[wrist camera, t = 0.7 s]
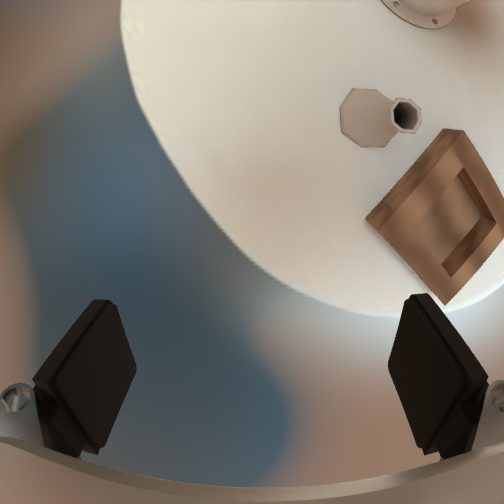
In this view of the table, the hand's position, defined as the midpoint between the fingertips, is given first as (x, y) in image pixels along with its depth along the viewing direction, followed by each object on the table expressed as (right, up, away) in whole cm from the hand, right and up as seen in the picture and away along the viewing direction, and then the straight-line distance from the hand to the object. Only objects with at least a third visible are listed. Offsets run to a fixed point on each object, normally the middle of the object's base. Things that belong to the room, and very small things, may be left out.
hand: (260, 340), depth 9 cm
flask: (+13, +18, +21) cm, 31 cm away
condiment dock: (+25, +8, +25) cm, 36 cm away
